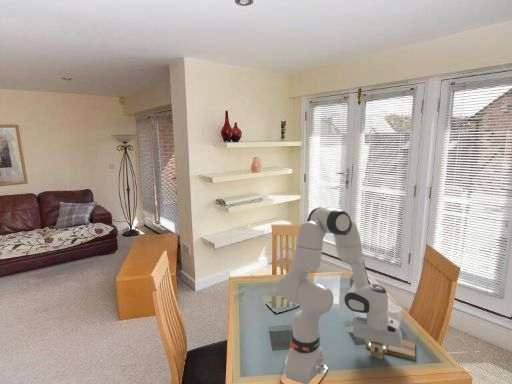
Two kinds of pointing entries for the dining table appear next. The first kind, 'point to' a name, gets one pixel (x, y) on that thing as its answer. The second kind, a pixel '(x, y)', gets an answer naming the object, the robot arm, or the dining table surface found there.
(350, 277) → the coffee mug
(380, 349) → the gauge
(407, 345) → the board
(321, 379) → the dining table surface
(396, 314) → the white cup
